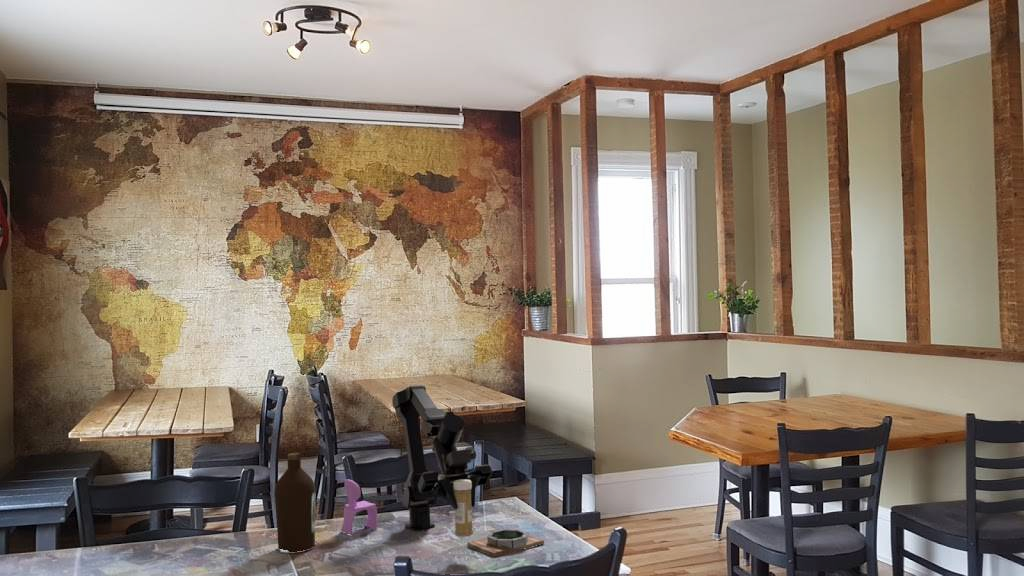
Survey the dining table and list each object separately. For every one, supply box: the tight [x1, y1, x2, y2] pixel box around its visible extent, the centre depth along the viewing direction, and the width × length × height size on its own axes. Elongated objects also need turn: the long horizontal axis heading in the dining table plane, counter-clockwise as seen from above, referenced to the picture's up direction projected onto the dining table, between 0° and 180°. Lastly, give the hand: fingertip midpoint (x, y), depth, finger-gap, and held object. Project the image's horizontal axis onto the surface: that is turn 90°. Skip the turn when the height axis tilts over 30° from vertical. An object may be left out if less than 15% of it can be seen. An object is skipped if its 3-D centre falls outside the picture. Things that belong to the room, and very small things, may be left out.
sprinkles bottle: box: [453, 479, 474, 538], centre depth 212 cm, size 5×5×14 cm
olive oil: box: [273, 452, 317, 552], centre depth 225 cm, size 11×11×25 cm
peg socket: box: [486, 528, 529, 548], centre depth 221 cm, size 10×10×2 cm
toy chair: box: [340, 478, 378, 536], centre depth 240 cm, size 8×9×15 cm
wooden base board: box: [466, 534, 545, 558], centre depth 221 cm, size 12×16×1 cm
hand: (465, 507), depth 210 cm, fingers closed on sprinkles bottle, 4 cm apart
